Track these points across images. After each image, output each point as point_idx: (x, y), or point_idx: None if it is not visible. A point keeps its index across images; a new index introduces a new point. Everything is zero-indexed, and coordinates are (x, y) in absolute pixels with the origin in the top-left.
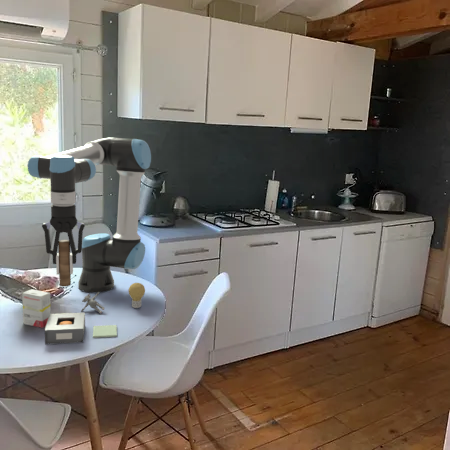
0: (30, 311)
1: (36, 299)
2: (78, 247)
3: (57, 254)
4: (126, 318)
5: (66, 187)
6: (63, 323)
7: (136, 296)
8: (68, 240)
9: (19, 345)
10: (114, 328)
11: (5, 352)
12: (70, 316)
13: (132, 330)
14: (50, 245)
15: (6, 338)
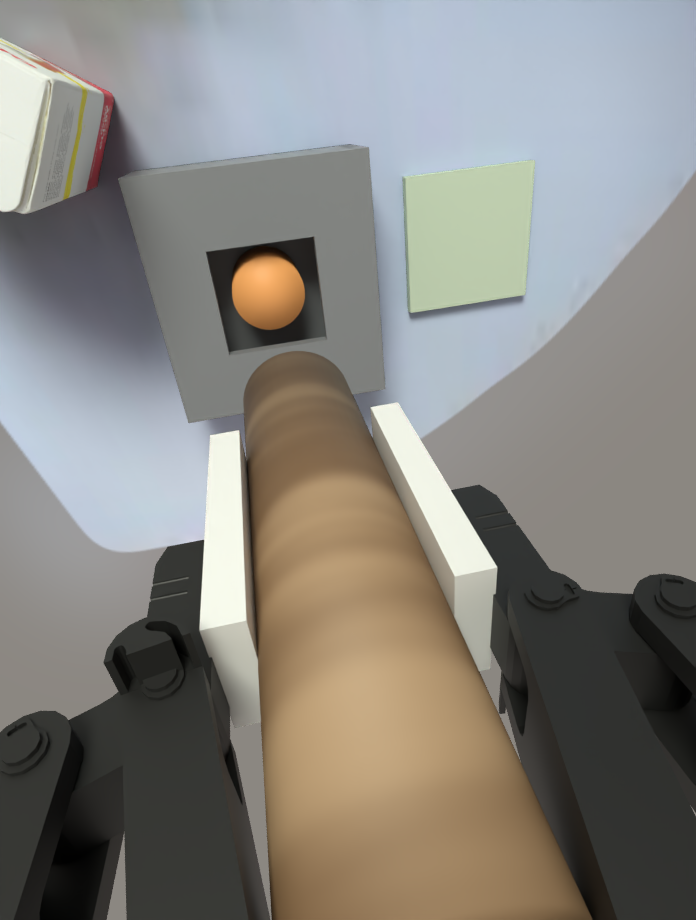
0: None
1: None
2: (683, 773)
3: (236, 680)
4: (604, 14)
5: None
6: (255, 295)
7: None
8: (560, 911)
9: (69, 405)
10: (520, 213)
11: (41, 470)
12: (282, 222)
13: (605, 214)
14: (39, 886)
15: None
